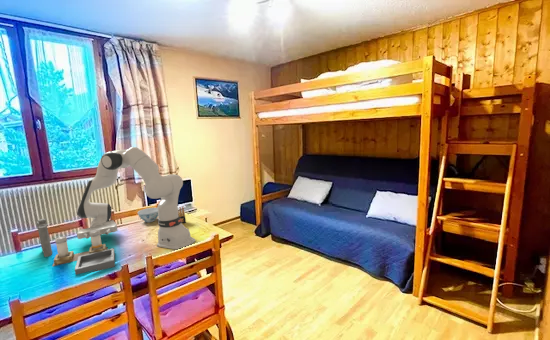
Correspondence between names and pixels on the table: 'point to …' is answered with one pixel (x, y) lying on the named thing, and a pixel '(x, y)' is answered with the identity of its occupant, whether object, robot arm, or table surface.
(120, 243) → the table surface
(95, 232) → the cylinder
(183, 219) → the ammunition clip
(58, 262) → the fuse block
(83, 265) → the tray
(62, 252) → the cylinder
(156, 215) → the chinaware
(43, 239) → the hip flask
